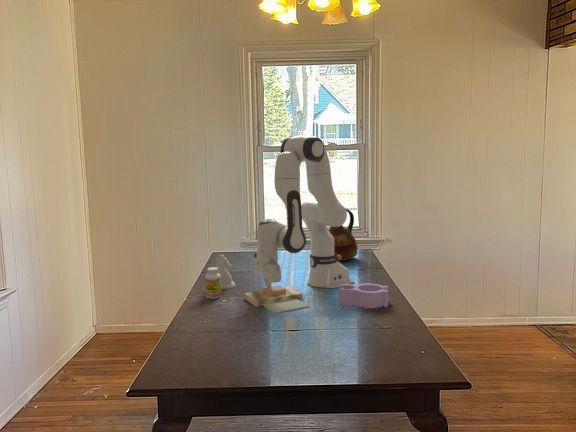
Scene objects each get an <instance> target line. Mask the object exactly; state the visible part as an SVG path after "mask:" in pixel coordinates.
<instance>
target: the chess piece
mask: <svg viewBox="0 0 576 432" xmlns="http://www.w3.org/2000/svg"><path fill="white" fill-rule="evenodd" d="M215 267H217V268H218V273H219V274H220V275H221V290H229V289H234V288H235V287H236V283H235V281H233V276H232V275H231V274H230V272H232V270H233V265H232V264H230V262H229V260H228V258H227V257H225V255H224V254H219V255H218V256H217V257H216V259H215Z"/></svg>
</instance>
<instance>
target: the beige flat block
mask: <svg viewBox="0 0 576 432" xmlns="http://www.w3.org/2000/svg"><path fill="white" fill-rule="evenodd" d="M282 287H283V288H285V289H286V294H280V295H275V296H269V297H267V296H265V295H264V294H262V293H261V290H258V291H257V290H256V291H251V292H244V300H246V301H247V302H249V304H251V305H253V306H254V307H255V308H257V307H264V306H263V304H267V303H272V302H278V301H284V300H289V299H295V298H297V299H299V300H301V299H303V295H304V294H303V292H301V291H299V290H298V289H296V288H294V287H293V286H290V285H287V286H282Z"/></svg>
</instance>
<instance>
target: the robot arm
mask: <svg viewBox="0 0 576 432" xmlns="http://www.w3.org/2000/svg"><path fill="white" fill-rule="evenodd" d="M302 162H304V163H305V171H306V180H307V181H306V182H307V190H308V192H309V193H310V194H311V195H312V196H313V197H314V199H315V200H308V201H305V202H302V200H301V199H302V198H301V171H300V170H301V164H302ZM273 181H274V189H275V193H276V195H277V196H278V198H280V200H281V201H282V202H283V204H284V206H285V211H286V224H283V223H281V222H279V221H277V220H276V219H273V218H267V219H264V220H261V221H260V222H259V223H258V224H257V234H256V235H257V236H256V238H257V239H256V241H257V249H256V250H257V251H256V252H253V258H254V271H255V272H256V274H258V275H261V277H263V281H264V287H265V288H267V287H272V284H274V283H280V282H281V281H282V270H281V265H280V264H279V262H278V260H279V257H278V256H279V255H278V253H279V251H278V249H279V248H283V249H284V250H286V251H287V252H289V253H290V254H298V253H300V252H302V251H303V249H304V248H305V247H306V244H307V236H306V233H305V231H304V227H303V223H304V224H305V226H306V228H307V232H308V234H309V239H310V253H309V265H310V268H309V273H308V275H309V276H308V279H307V284H308V285H309V286H311V287H315V288H326V289H336V288H340V285H343V284H353V283H355V280H354V278H352V277H351V276H350V270H349V269H348V268H347V267H346V266H344V265H343V264H342V263H341V262H340V261H337V259H339V260H340V259H341V257H342V256H341V255H336V254H334V237H333V236H332V235H331V234H330V232H329V231H328V230H329V229H328V227H329V228H330V227H337V226H342V225H343V226H344V224H346V223H345V222H346V220H347V218H348V217H347V216H348V212H347V211H346V209H347V208H346V207H344V206H343V205H342V204H341V203H340V200H339V199H338V198H337V196H336V193H335V191H334V188H333V181H332V171H331V162H330V160H329V155H328V153H327V151H326V147H325V144H324V142H323V140H322V139H321V138H320V137H318V136H314V135H296V136H294V135H292V136H288V137H286V138H284V140H283V141H282V142H281V146H280V153H279V154H278V155H277V156H276V160H275V166H274V180H273ZM345 208H346V209H345Z"/></svg>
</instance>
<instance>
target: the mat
mask: <svg viewBox="0 0 576 432" xmlns="http://www.w3.org/2000/svg"><path fill="white" fill-rule="evenodd" d="M262 307H264V308H265V309H267V310H268V311H269V312H271V313H272V314H280V313H286V312H290V311H297V310H302V309H307V308H310V305H309V304H307V303H306V302H304V301H302V300H301V299H297V298H295V299H289V300H284V301H278V302H272V303H267V304H263V306H262Z"/></svg>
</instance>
